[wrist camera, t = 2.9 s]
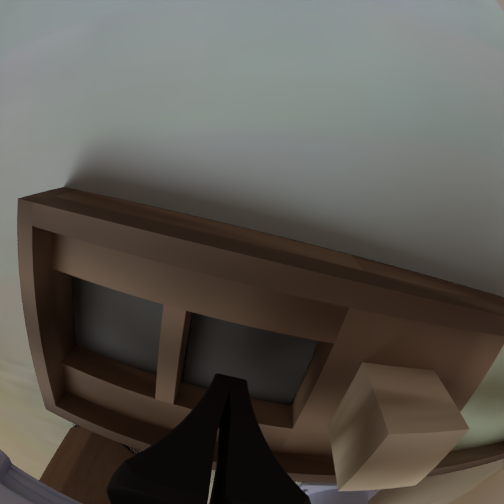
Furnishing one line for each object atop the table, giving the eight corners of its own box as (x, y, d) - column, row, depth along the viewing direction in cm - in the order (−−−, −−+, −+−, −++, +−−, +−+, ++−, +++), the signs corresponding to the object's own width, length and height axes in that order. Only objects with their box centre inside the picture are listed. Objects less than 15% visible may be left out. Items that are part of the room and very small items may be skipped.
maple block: (395, 427, 14) (415, 485, 10) (327, 423, 14) (338, 491, 10) (434, 370, 13) (469, 428, 9) (362, 362, 13) (389, 433, 9)
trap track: (494, 433, 18) (508, 456, 15) (70, 377, 17) (46, 409, 14) (567, 317, 14) (591, 336, 11) (62, 187, 13) (18, 198, 10)
